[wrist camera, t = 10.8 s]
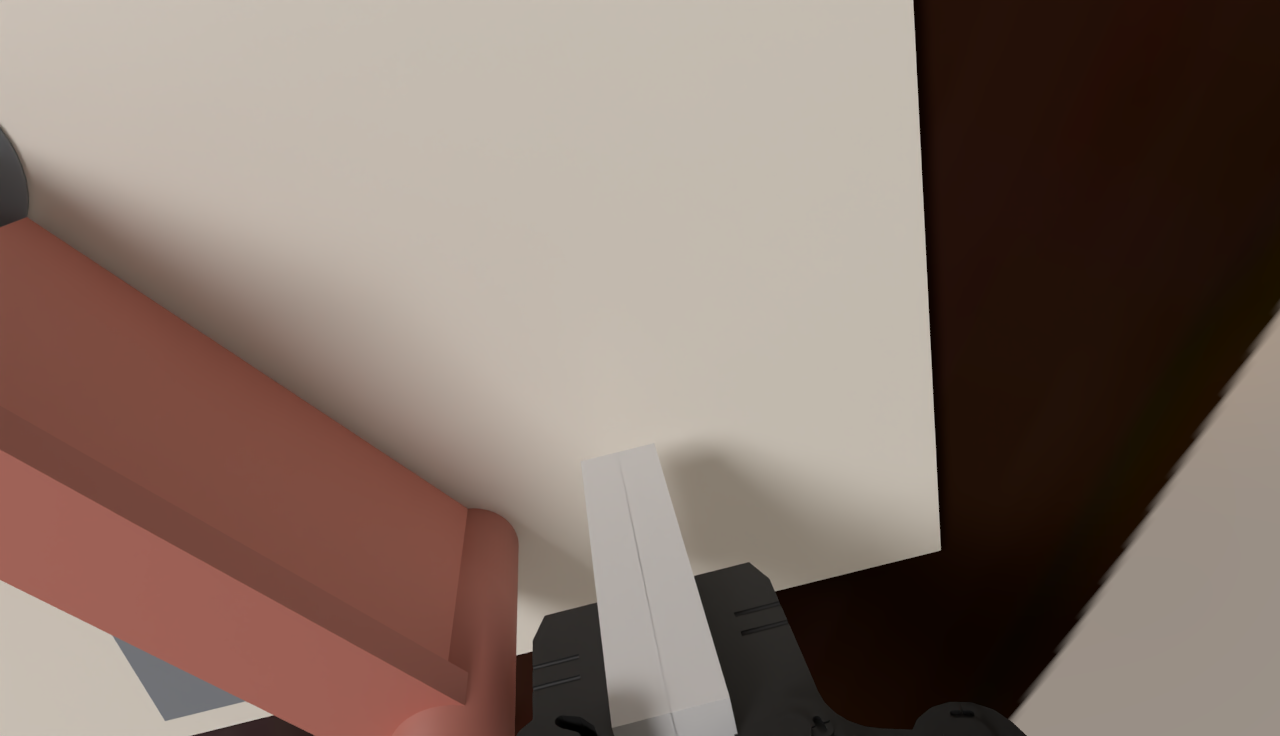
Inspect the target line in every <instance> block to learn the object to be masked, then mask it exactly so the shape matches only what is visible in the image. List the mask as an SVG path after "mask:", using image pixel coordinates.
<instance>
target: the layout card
mask: <svg viewBox="0 0 1280 736" xmlns="http://www.w3.org/2000/svg"><path fill="white" fill-rule="evenodd" d="M26 217H28V218H29V219H31V220H32V221H34V222H35V223H37V224H38V225H40V226H41V227H43V228H44V229H46V230H47V231H49V232H50V233H52V234H53V235H55V236H56V237H58V238H59V239H61V240H62V241H64V242H65V243H67V244H68V245H70V246H71V247H73V248H74V249H76V250H77V251H79V252H80V253H82V254H83V255H85V256H87V257H88V258H90V259H91V260H93V261H94V262H96V263H97V264H99V265H100V266H102V267H103V268H105V269H106V270H108V271H109V272H111V273H112V274H114V275H115V276H117V277H118V278H120V279H121V280H123V281H124V282H126V283H127V284H129V285H130V286H132V287H133V288H135V289H136V290H138V291H139V292H141V293H142V294H144V295H145V296H147V297H149V298H150V299H152V300H153V301H155V302H156V303H158V304H159V305H161V306H162V307H164V308H165V309H167V310H168V311H170V312H171V313H173V314H174V315H176V316H177V317H179V318H180V319H182V320H183V321H185V322H186V323H188V324H189V325H191V326H192V327H194V328H195V329H197V330H198V331H200V332H201V333H203V334H204V335H206V336H207V337H209V338H211V339H212V340H214V341H215V342H217V343H218V344H220V345H221V346H223V347H224V348H226V349H227V350H229V351H230V352H232V353H233V354H235V355H236V356H238V357H239V358H241V359H242V360H244V361H245V362H247V363H248V364H250V365H251V366H253V367H254V368H256V369H257V370H259V371H260V372H262V373H263V374H265V375H266V376H268V377H269V378H271V379H273V380H274V381H276V382H277V383H279V384H280V385H282V386H283V387H285V388H286V389H288V390H289V391H291V392H292V393H294V394H295V395H297V396H298V397H300V398H301V399H303V400H304V401H306V402H307V403H309V404H310V405H312V406H313V407H315V408H316V409H318V410H319V411H321V412H322V413H324V414H325V415H327V416H328V417H330V418H332V419H333V420H335V421H336V422H338V423H339V424H341V425H342V426H344V427H345V428H347V429H348V430H350V431H351V432H353V433H354V434H356V435H357V436H359V437H360V438H362V439H363V440H365V441H366V442H368V443H369V444H371V445H372V446H374V447H375V448H377V449H378V450H380V451H381V452H383V453H384V454H386V455H387V456H389V457H390V458H392V459H394V460H395V461H397V462H398V463H400V464H401V465H403V466H404V467H406V468H407V469H409V470H410V471H412V472H413V473H415V474H416V475H418V476H419V477H421V478H422V479H424V480H425V481H427V482H428V483H430V484H431V485H433V486H434V487H436V488H437V489H439V490H440V491H442V492H443V493H445V494H446V495H448V496H449V497H451V498H452V499H454V500H456V501H457V502H459V503H460V504H462V505H463V506H465V507H466V508H468V509H469V508H477V509H485V510H489V511H492V512H494V513H497V514H499V515H500V516H502V517H503V518H505V519H506V520H507V521H508V522H509V523H510V524H511V525H512V527H513V528H514V530H515V532H516V534H517V537H518V542H519V553H518V599H517V644H516V655H519V654H523V653H527V652H531V651H533V639H534V637H535V635H536V633H537V630H538V628H539V626H540V624H541V622H542V620H543V618H544V616H545V615H549V614H553V613H557V612H561V611H565V610H569V609H573V608H577V607H581V606H585V605H589V604H593V603H597V596H596V587H595V579H594V570H593V562H592V553H591V545H590V536H589V527H588V519H587V510H586V502H585V493H584V484H583V476H582V467H581V461H584V460H588V459H592V458H596V457H600V456H604V455H608V454H612V453H616V452H620V451H624V450H628V449H632V448H636V447H640V446H644V445H649V444H653V443H654V444H655V447H656V451H657V454H658V457H659V461H660V464H661V467H662V471H663V474H664V478H665V481H666V484H667V488H668V491H669V494H670V498H671V501H672V505H673V508H674V511H675V515H676V518H677V521H678V525H679V528H680V532H681V535H682V538H683V542H684V545H685V548H686V552H687V555H688V558H689V562H690V565H691V569H692V572H693V575H694V576H696V575H700V574H704V573H708V572H711V571H715V570H719V569H723V568H727V567H731V566H735V565H739V564H743V563H747V562H750V563H751V564H752V565H753V566H754V567H756V568H757V569H758V570H759V571H761V572H762V573H763V574H764V575H766V576H767V577H768V578H769V579H770V581H771V583H772V586H773V588H774V590H775V591H779V590H783V589H787V588H791V587H795V586H799V585H803V584H807V583H811V582H815V581H819V580H823V579H827V578H831V577H835V576H839V575H843V574H847V573H852V572H856V571H860V570H864V569H868V568H872V567H876V566H880V565H884V564H888V563H892V562H896V561H900V560H904V559H908V558H912V557H916V556H920V555H924V554H928V553H933V552H937V551H941V542H940V522H939V502H938V482H937V462H936V442H935V423H934V403H933V383H932V363H931V343H930V323H929V303H928V284H927V264H926V244H925V224H924V204H923V184H922V164H921V145H920V125H919V105H918V85H917V65H916V45H915V25H914V6H913V0H0V227H2V226H5V225H8V224H10V223H13V222H15V221H18V220H21V219H23V218H26ZM268 716H272V714H270V713H268V712H266V711H264V710H262V709H260V708H258V707H256V706H254V705H252V704H250V703H248V702H246V701H244V700H242V699H240V698H238V697H236V696H234V695H232V694H230V693H228V692H226V691H224V690H222V689H220V688H218V687H216V686H214V685H212V684H210V683H208V682H206V681H204V680H202V679H200V678H198V677H196V676H194V675H191V674H189V673H187V672H185V671H183V670H181V669H179V668H177V667H175V666H173V665H171V664H169V663H167V662H165V661H163V660H161V659H159V658H157V657H155V656H153V655H151V654H149V653H147V652H145V651H143V650H141V649H139V648H137V647H135V646H133V645H131V644H129V643H127V642H125V641H123V640H121V639H119V638H117V637H115V636H113V635H110V634H108V633H106V632H104V631H102V630H100V629H98V628H96V627H94V626H92V625H90V624H88V623H86V622H84V621H82V620H80V619H78V618H76V617H74V616H72V615H70V614H68V613H66V612H64V611H62V610H60V609H58V608H56V607H54V606H52V605H50V604H48V603H46V602H44V601H42V600H40V599H38V598H36V597H34V596H32V595H29V594H27V593H25V592H23V591H21V590H19V589H17V588H15V587H13V586H11V585H9V584H7V583H5V582H3V581H1V580H0V736H191V735H195V734H199V733H203V732H207V731H211V730H215V729H220V728H224V727H228V726H232V725H236V724H240V723H244V722H248V721H252V720H256V719H260V718H264V717H268Z"/></svg>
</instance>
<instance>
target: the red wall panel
mask: <svg viewBox="0 0 1280 736" xmlns="http://www.w3.org/2000/svg"><path fill="white" fill-rule="evenodd" d="M518 553H519V542H518V537H517V534H516V532H515V530H514V528H513V527H512V525H511V524H510V523H509V522H508V521H507V520H506V519H505V518H503V517H502V516H500V515H499V514H497V513H494V512H492V511H489V510H485V509H477V508H469V509H468V508H466V507H465V506H463V505H462V504H460V503H459V502H457V501H456V500H454V499H452V498H451V497H449V496H448V495H446V494H445V493H443V492H442V491H440V490H439V489H437V488H436V487H434V486H433V485H431V484H430V483H428V482H427V481H425V480H424V479H422V478H421V477H419V476H418V475H416V474H415V473H413V472H412V471H410V470H409V469H407V468H406V467H404V466H403V465H401V464H400V463H398V462H397V461H395V460H394V459H392V458H390V457H389V456H387V455H386V454H384V453H383V452H381V451H380V450H378V449H377V448H375V447H374V446H372V445H371V444H369V443H368V442H366V441H365V440H363V439H362V438H360V437H359V436H357V435H356V434H354V433H353V432H351V431H350V430H348V429H347V428H345V427H344V426H342V425H341V424H339V423H338V422H336V421H335V420H333V419H332V418H330V417H328V416H327V415H325V414H324V413H322V412H321V411H319V410H318V409H316V408H315V407H313V406H312V405H310V404H309V403H307V402H306V401H304V400H303V399H301V398H300V397H298V396H297V395H295V394H294V393H292V392H291V391H289V390H288V389H286V388H285V387H283V386H282V385H280V384H279V383H277V382H276V381H274V380H273V379H271V378H269V377H268V376H266V375H265V374H263V373H262V372H260V371H259V370H257V369H256V368H254V367H253V366H251V365H250V364H248V363H247V362H245V361H244V360H242V359H241V358H239V357H238V356H236V355H235V354H233V353H232V352H230V351H229V350H227V349H226V348H224V347H223V346H221V345H220V344H218V343H217V342H215V341H214V340H212V339H211V338H209V337H207V336H206V335H204V334H203V333H201V332H200V331H198V330H197V329H195V328H194V327H192V326H191V325H189V324H188V323H186V322H185V321H183V320H182V319H180V318H179V317H177V316H176V315H174V314H173V313H171V312H170V311H168V310H167V309H165V308H164V307H162V306H161V305H159V304H158V303H156V302H155V301H153V300H152V299H150V298H149V297H147V296H145V295H144V294H142V293H141V292H139V291H138V290H136V289H135V288H133V287H132V286H130V285H129V284H127V283H126V282H124V281H123V280H121V279H120V278H118V277H117V276H115V275H114V274H112V273H111V272H109V271H108V270H106V269H105V268H103V267H102V266H100V265H99V264H97V263H96V262H94V261H93V260H91V259H90V258H88V257H87V256H85V255H83V254H82V253H80V252H79V251H77V250H76V249H74V248H73V247H71V246H70V245H68V244H67V243H65V242H64V241H62V240H61V239H59V238H58V237H56V236H55V235H53V234H52V233H50V232H49V231H47V230H46V229H44V228H43V227H41V226H40V225H38V224H37V223H35V222H34V221H32V220H31V219H29V218H28V217H26V218H23V219H21V220H18V221H15V222H13V223H10V224H8V225H5V226H2V227H0V580H1V581H3V582H5V583H7V584H9V585H11V586H13V587H15V588H17V589H19V590H21V591H23V592H25V593H27V594H29V595H32V596H34V597H36V598H38V599H40V600H42V601H44V602H46V603H48V604H50V605H52V606H54V607H56V608H58V609H60V610H62V611H64V612H66V613H68V614H70V615H72V616H74V617H76V618H78V619H80V620H82V621H84V622H86V623H88V624H90V625H92V626H94V627H96V628H98V629H100V630H102V631H104V632H106V633H108V634H110V635H113V636H115V637H117V638H119V639H121V640H123V641H125V642H127V643H129V644H131V645H133V646H135V647H137V648H139V649H141V650H143V651H145V652H147V653H149V654H151V655H153V656H155V657H157V658H159V659H161V660H163V661H165V662H167V663H169V664H171V665H173V666H175V667H177V668H179V669H181V670H183V671H185V672H187V673H189V674H191V675H194V676H196V677H198V678H200V679H202V680H204V681H206V682H208V683H210V684H212V685H214V686H216V687H218V688H220V689H222V690H224V691H226V692H228V693H230V694H232V695H234V696H236V697H238V698H240V699H242V700H244V701H246V702H248V703H250V704H252V705H254V706H256V707H258V708H260V709H262V710H264V711H266V712H268V713H270V714H272V715H275V716H277V717H279V718H281V719H283V720H285V721H287V722H289V723H291V724H293V725H295V726H297V727H299V728H301V729H303V730H305V731H307V732H309V733H311V734H313V735H315V736H514V735H515V689H516V644H517V599H518Z"/></svg>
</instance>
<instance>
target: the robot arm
mask: <svg viewBox="0 0 1280 736" xmlns="http://www.w3.org/2000/svg"><path fill="white" fill-rule="evenodd" d="M581 467H582V476H583V484H584V493H585V502H586V510H587V519H588V527H589V536H590V545H591V553H592V562H593V570H594V579H595V587H596V596H597V603H593V604H589V605H585V606H581V607H577V608H573V609H569V610H565V611H561V612H557V613H553V614H549V615H545V616H544V618H543V620H542V622H541V624H540V626H539V628H538V630H537V633H536V635H535V637H534V639H533V670H534V671H533V690H534V692H533V720H532V721H531V722H530V723H528V724H527V725H526V726H525V727H523V728H522V729H521V730H520V731H519V732H518V734H517V735H516V736H1026V735H1025V734H1024V733H1023V732H1022V731H1021V730H1020V729H1019V728H1018V727H1017V726H1016V725H1015V724H1014V723H1013V722H1011V721H1010V720H1008V719H1007V718H1005V717H1004V716H1002V715H1001V714H1000V713H998V712H997V711H995V710H994V709H991V708H988V707H985V706H981V705H978V704H975V703H972V702H948V703H944V704H941V705H938V706H934V707H931V708H930V709H929V710H927V711H926V712H925V713H924V714H922V715H921V716H920V717H919V718H918V719H917V721H916V723H915V725H914V727H913V730H906V729H880V728H873V727H866V726H862V725H859V724H856V723H853V722H850V721H848V720H846V719H845V718H843V717H841V716H840V715H838V714H836V713H835V712H834V711H833V710H832V709H831V708H830V707H829V706H828V705H827V704H826V703H825V702H824V700H823V699H822V697H821V696H820V694H819V692H818V690H817V688H816V685H815V683H814V681H813V678H812V676H811V674H810V671H809V669H808V667H807V665H806V662H805V660H804V658H803V655H802V653H801V651H800V648H799V646H798V644H797V641H796V639H795V637H794V634H793V632H792V630H791V627H790V625H789V624H788V621H787V618H786V616H785V614H784V611H783V609H782V607H781V606H780V603H779V600H778V597H777V595H776V593H775V590H774V588H773V586H772V583H771V581H770V579H769V578H768V577H767V576H766V575H764V574H763V573H762V572H761V571H759V570H758V569H757V568H756V567H754V566H753V565H752V564H751V563H750V562H747V563H743V564H739V565H735V566H731V567H727V568H723V569H719V570H715V571H711V572H708V573H704V574H700V575H696V576H694V575H693V572H692V569H691V565H690V562H689V558H688V555H687V552H686V548H685V545H684V542H683V538H682V535H681V532H680V528H679V525H678V521H677V518H676V515H675V511H674V508H673V505H672V501H671V498H670V494H669V491H668V488H667V484H666V481H665V478H664V474H663V471H662V467H661V464H660V461H659V457H658V454H657V451H656V447H655V444H654V443H653V444H649V445H644V446H640V447H636V448H632V449H628V450H624V451H620V452H616V453H612V454H608V455H604V456H600V457H596V458H592V459H588V460H584V461H581Z"/></svg>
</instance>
